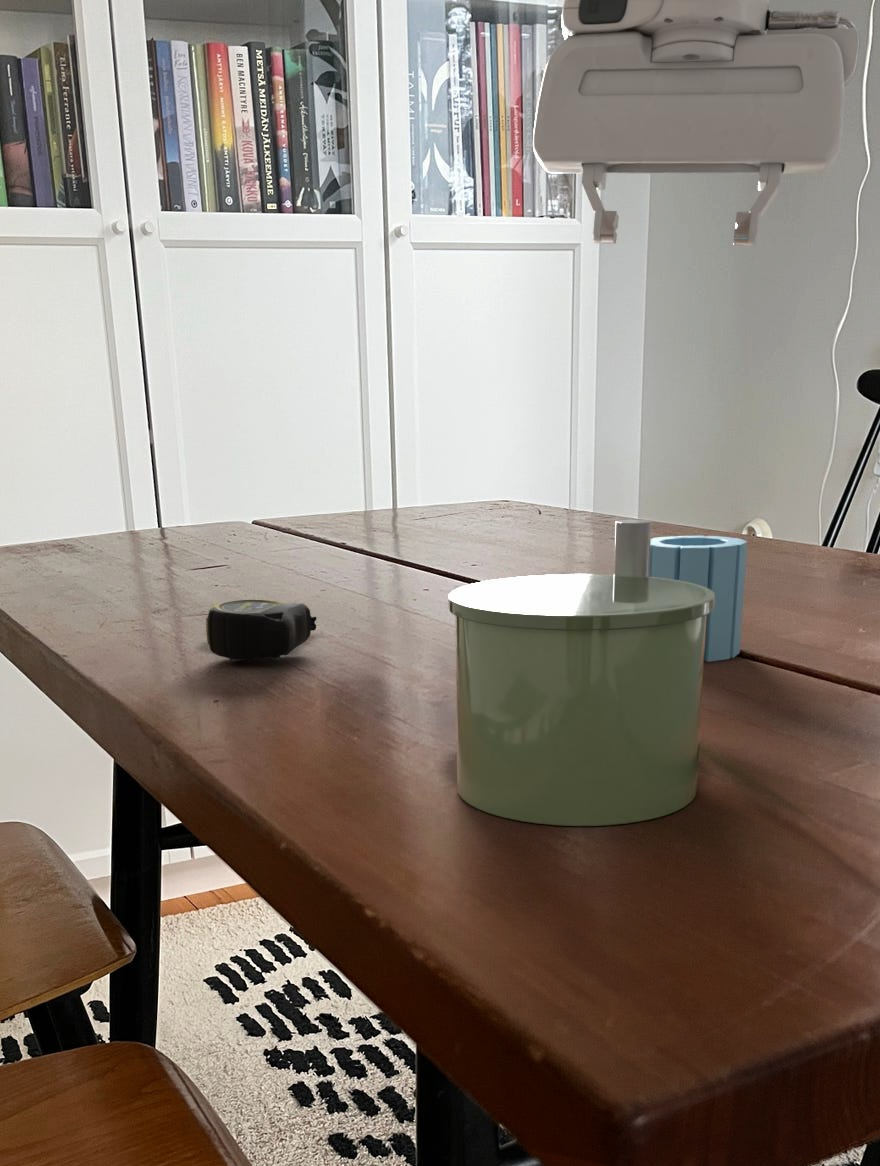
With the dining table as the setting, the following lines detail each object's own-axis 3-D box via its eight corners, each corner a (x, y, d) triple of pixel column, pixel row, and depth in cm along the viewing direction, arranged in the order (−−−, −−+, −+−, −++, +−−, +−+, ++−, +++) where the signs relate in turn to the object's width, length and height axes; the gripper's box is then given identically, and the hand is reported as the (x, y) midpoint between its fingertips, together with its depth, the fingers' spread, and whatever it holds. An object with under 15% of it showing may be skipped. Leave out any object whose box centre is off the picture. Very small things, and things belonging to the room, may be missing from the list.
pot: (676, 841, 52) (691, 568, 48) (413, 813, 56) (407, 560, 52) (745, 723, 69) (760, 515, 65) (540, 709, 73) (542, 513, 69)
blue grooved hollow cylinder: (715, 653, 86) (722, 533, 83) (753, 674, 80) (762, 545, 77) (624, 658, 85) (628, 537, 83) (655, 679, 79) (661, 549, 76)
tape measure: (289, 670, 85) (285, 614, 83) (193, 667, 86) (189, 612, 85) (318, 650, 91) (315, 597, 90) (228, 648, 93) (225, 596, 91)
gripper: (860, 28, 83) (828, 255, 87) (553, 35, 88) (535, 250, 92) (869, -12, 77) (835, 234, 81) (539, -2, 82) (520, 230, 86)
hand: (673, 243), depth 86 cm, fingers open, 8 cm apart
